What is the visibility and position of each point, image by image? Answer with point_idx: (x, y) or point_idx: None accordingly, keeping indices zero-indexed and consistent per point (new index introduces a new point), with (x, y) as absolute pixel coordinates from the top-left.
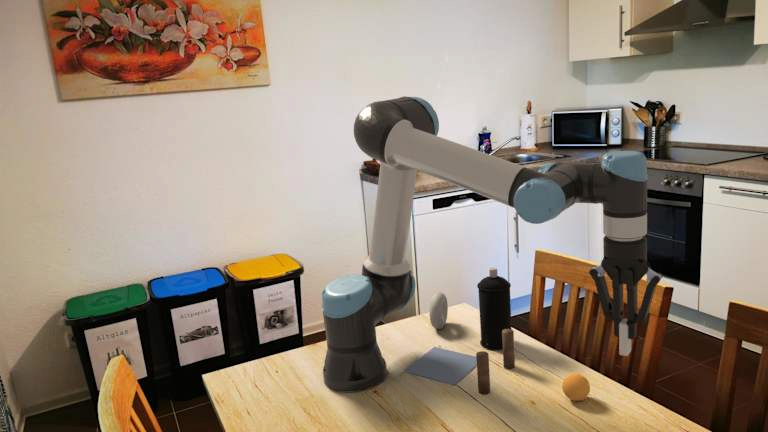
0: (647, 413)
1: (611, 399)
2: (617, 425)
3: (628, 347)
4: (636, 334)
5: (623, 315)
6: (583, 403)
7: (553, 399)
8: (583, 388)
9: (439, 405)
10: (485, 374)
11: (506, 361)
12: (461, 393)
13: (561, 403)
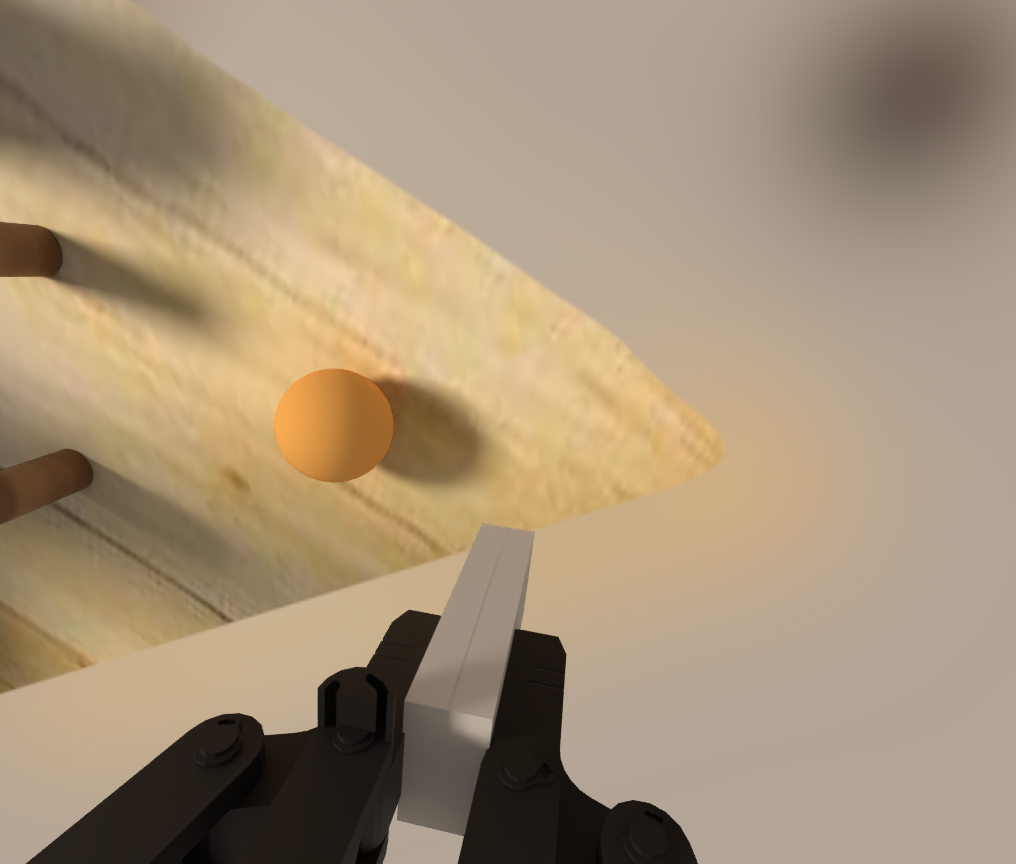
0: (620, 424)
1: (478, 368)
2: None
3: (519, 623)
4: (565, 656)
5: (394, 717)
6: None
7: None
8: (368, 466)
9: (15, 583)
10: (6, 519)
11: (5, 276)
12: None
13: None
